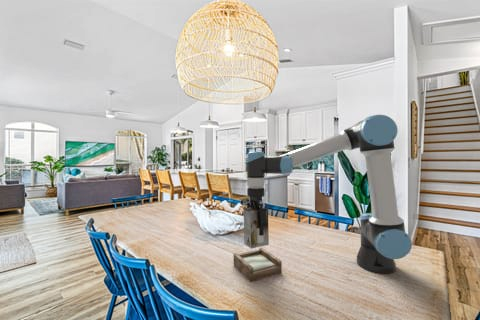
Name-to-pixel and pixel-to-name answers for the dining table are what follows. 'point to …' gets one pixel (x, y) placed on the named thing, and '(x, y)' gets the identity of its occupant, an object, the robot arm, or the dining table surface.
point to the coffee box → (253, 228)
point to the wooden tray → (257, 264)
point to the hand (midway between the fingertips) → (256, 239)
